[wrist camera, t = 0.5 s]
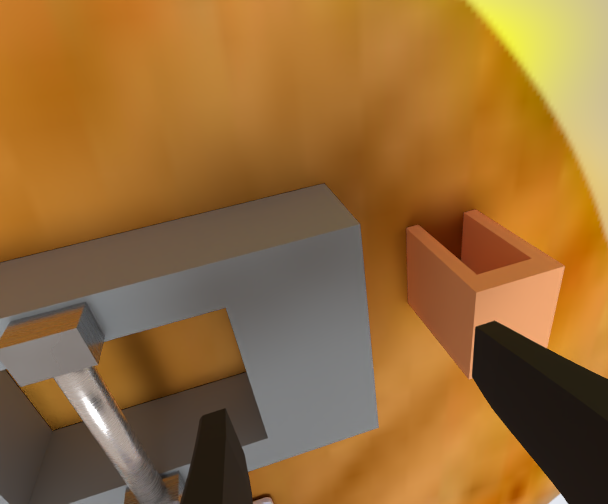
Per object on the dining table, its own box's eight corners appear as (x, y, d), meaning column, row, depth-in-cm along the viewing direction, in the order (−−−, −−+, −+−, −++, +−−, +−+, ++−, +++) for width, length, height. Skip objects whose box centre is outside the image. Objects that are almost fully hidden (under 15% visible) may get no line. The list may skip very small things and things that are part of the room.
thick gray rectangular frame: (348, 365, 25) (390, 451, 20) (-37, 486, 22) (-103, 623, 17) (324, 183, 19) (375, 241, 14) (-220, 316, 16) (-410, 453, 11)
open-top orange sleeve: (469, 284, 24) (545, 353, 19) (407, 303, 24) (468, 379, 19) (475, 209, 22) (564, 266, 16) (406, 227, 21) (476, 292, 16)
